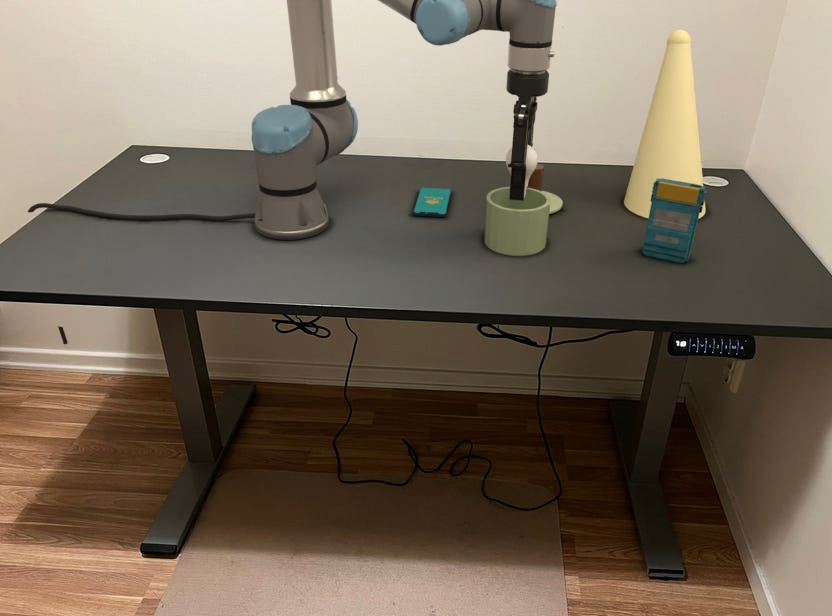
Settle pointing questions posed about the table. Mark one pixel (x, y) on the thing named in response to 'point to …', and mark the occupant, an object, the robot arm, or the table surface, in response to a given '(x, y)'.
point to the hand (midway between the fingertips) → (518, 192)
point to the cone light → (668, 130)
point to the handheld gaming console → (673, 219)
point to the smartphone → (432, 202)
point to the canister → (516, 222)
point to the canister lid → (536, 183)
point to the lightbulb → (530, 163)
